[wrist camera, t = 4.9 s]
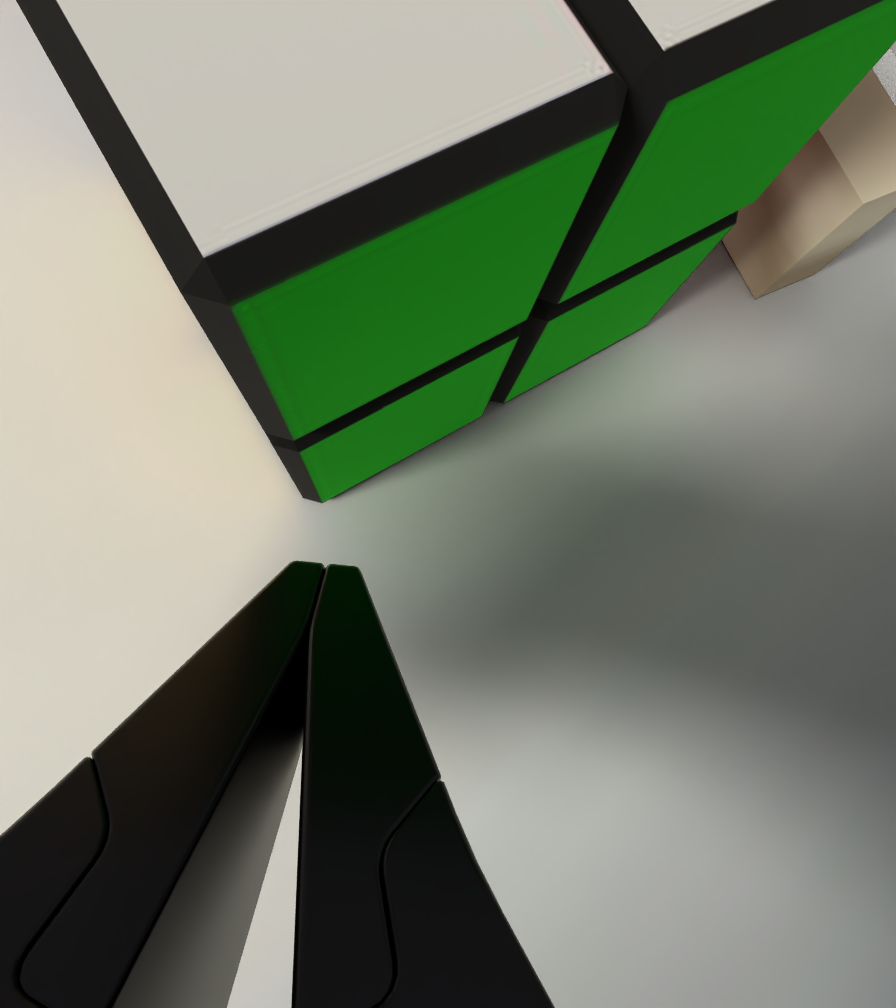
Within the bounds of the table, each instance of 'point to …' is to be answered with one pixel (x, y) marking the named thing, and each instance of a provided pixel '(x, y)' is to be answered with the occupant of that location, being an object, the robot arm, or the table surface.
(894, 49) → the award plaque
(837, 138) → the corner walls
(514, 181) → the puzzle cube
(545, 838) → the table surface
